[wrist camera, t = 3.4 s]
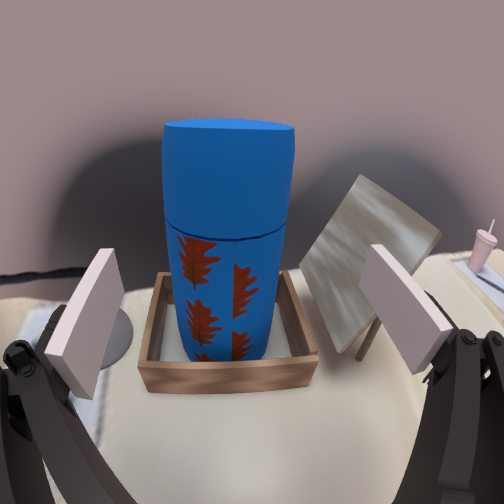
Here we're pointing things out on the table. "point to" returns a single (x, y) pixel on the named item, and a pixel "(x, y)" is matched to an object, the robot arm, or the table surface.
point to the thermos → (226, 231)
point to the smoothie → (482, 249)
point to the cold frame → (296, 326)
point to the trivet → (118, 339)
